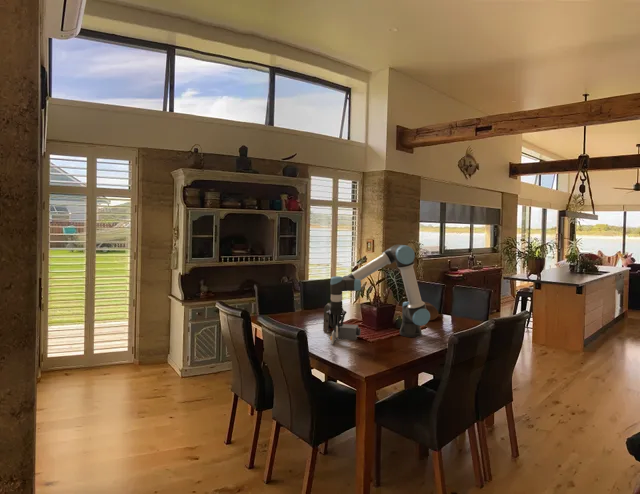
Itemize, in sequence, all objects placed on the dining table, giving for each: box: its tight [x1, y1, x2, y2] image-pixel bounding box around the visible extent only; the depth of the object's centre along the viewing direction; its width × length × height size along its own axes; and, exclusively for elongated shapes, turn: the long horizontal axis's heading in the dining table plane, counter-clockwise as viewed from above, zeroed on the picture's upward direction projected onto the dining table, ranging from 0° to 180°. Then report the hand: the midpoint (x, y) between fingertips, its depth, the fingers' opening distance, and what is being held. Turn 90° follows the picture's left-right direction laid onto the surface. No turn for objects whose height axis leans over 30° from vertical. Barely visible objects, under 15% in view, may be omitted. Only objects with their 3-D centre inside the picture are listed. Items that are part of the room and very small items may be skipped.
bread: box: [424, 301, 439, 321], centre depth 348 cm, size 26×27×13 cm
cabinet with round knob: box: [335, 323, 362, 341], centre depth 286 cm, size 16×9×9 cm, turn 75°
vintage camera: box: [322, 302, 343, 334], centre depth 301 cm, size 10×16×20 cm, turn 78°
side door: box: [330, 329, 337, 345], centre depth 277 cm, size 14×2×7 cm, turn 170°
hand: (336, 336), depth 274 cm, fingers closed
